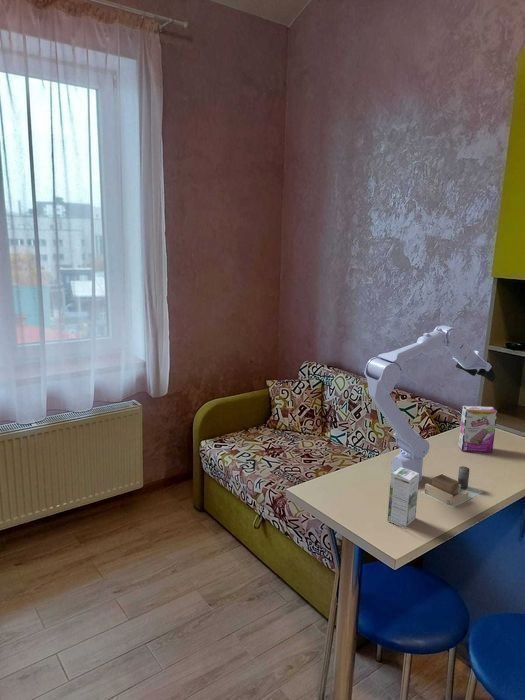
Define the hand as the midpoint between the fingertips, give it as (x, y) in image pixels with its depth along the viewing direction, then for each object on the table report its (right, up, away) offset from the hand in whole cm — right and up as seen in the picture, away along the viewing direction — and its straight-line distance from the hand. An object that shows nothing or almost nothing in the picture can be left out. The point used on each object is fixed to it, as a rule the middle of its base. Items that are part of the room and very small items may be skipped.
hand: (484, 376), depth 162 cm
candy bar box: (+6, -29, +20) cm, 35 cm away
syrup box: (-35, -39, -27) cm, 59 cm away
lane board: (-16, -35, -13) cm, 41 cm away
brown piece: (-15, -34, -13) cm, 40 cm away
